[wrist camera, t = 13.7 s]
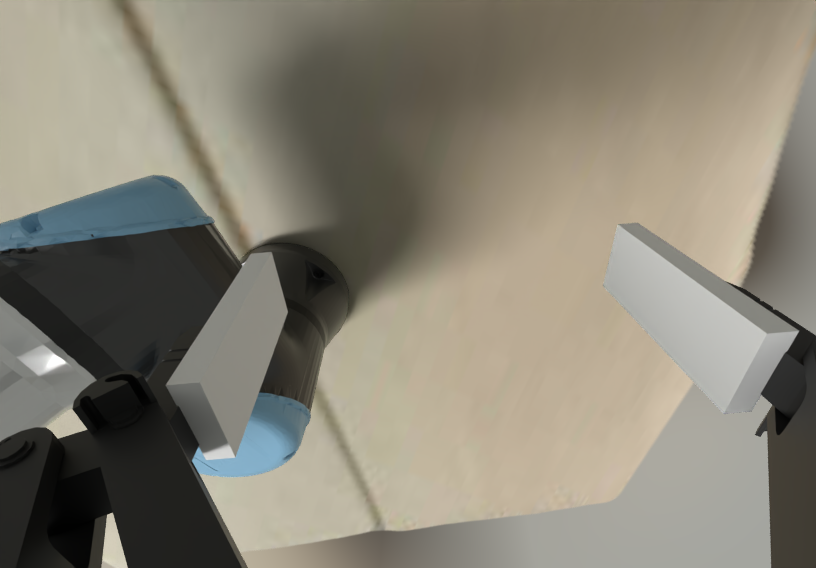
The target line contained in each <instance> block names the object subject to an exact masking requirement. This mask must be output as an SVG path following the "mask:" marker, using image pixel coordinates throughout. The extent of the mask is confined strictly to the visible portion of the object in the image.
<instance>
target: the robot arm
mask: <svg viewBox="0 0 816 568" xmlns="http://www.w3.org/2000/svg"><path fill="white" fill-rule="evenodd" d="M214 222H215V221H214V220H213V218H212V217H210V216H207V214H206V213H205V212H204V211H203V210H202V208H201V207H200V206H199V205H198V203H197V202H196V201H195V199H194V198H193V197H192V195H191V194H190V193H189V192H188V190H187V189H186V188H185V187H184V186H183V185H182V184H181V183H180V182H178V181H177V180H175V179H173V178H170V177H167V176H163V175H152V176H148V177H144V178H141V179H137V180H134V181H131V182H127V183H124V184H121V185H118V186H115V187H111V188H108V189H105V190H102V191H99V192H96V193H93V194H89V195H86V196H83V197H80V198H77V199H74V200H71V201H68V202H65V203H62V204H59V205H56V206H53V207H50V208H47V209H44V210H41V211H39V212H35V213H31V214H29V215H26V216H23V217H20V218H17V219H14V220H10V221H7V222H4V223H1V224H0V568H101V564H102V555H103V546H104V537H105V528H106V518H107V514H110V513H112V512H113V514H114V518H115V522H116V525H117V529H118V533H119V536H120V540H121V544H122V547H123V551H124V555H125V558H126V562H127V566H128V568H248V567H247V565H246V563H245V561H244V560H243V558H242V556H241V554H240V552H239V550H238V548H237V546H236V544H235V542H234V540H233V538H232V536H231V534H230V533H229V531H228V529H227V527H226V525H225V523H224V521H223V519H222V517H221V515H220V513H219V511H218V509H217V507H216V505H215V504H214V502H213V500H212V498H211V496H210V494H209V492H208V490H207V488H206V486H205V484H204V482H203V480H202V478H201V477H200V475H199V473H200V474H204V475H210V476H220V477H245V476H252V475H257V474H261V473H265V472H268V471H271V470H273V469H276V468H278V467H279V466H281V465H283V464H284V463H286V462H287V461H288V460H290V459H291V458H292V457H293V456H294V454H295V453H296V451H297V450H298V448H299V446H300V444H301V441H302V438H303V435H304V431H305V428H306V426H307V424H308V423H309V421H310V418H311V415H310V411H311V407H312V402H313V398H314V393H315V389H316V384H317V380H318V375H319V370H320V366H321V362H322V357H323V353H324V349H325V347H326V346H327V345H328V344H329V343H330V341H331V340H332V339H333V337H334V336H335V335H336V334H337V333H338V332H339V330H340V329H341V327H342V325H343V323H344V321H345V319H346V315H347V310H348V305H349V292H348V287H347V284H346V282H345V279H344V278H343V276H342V274H341V273H340V271H339V270H338V269H337V267H336V266H335V265H334V264H333V263H332V262H331V261H329V260H328V259H327V258H326V257H324V256H323V255H321V254H319V253H318V252H316V251H314V250H312V249H309V248H307V247H304V246H300V245H295V244H289V243H275V244H268V245H264V246H261V247H258V248H256V249H254V250H252V251H250V252H249V253H247V254H246V255H245V256H244V257H243V258H242V259H241V260H240V261H239V260H238V258H237V257H236V255H235V254H234V253H233V251H232V250H231V248H230V247H229V245H228V244H227V242H226V241H225V239H224V238H223V236H222V235H221V234H220V232H219V231H218V229H217V228H216V226H215V225H214ZM603 287H604V288H605V289H606V290H607V291H608V292H609V293H610V294H611V295H612V296H613V297H614V298H615V299H616V300H617V301H618V302H619V303H620V305H621V306H622V307H623V308H624V309H625V310H626V311H627V312H628V313H629V314H630V315H631V316H632V317H633V318H634V319H635V320H636V321H637V323H638V324H639V325H640V326H641V327H642V328H643V329H644V330H645V331H646V332H647V333H648V334H649V335H650V336H651V337H652V338H653V340H654V341H655V342H656V343H657V344H658V345H659V346H660V347H661V348H662V349H663V350H664V351H665V352H666V353H667V354H668V355H669V356H670V358H671V359H672V360H673V361H674V362H675V363H676V364H677V365H678V366H679V367H680V368H681V369H682V370H683V371H684V372H685V373H686V374H687V376H688V377H689V378H690V379H691V380H692V381H693V382H694V383H695V384H696V385H697V386H698V387H699V388H700V389H701V390H702V391H703V392H704V394H705V395H706V396H707V397H708V398H709V399H710V400H711V401H712V402H713V403H714V404H715V405H716V406H717V407H718V408H719V409H720V411H721V412H722V413H723V414H728V413H740V412H750V411H752V410H753V408H754V406H755V405H756V402H757V401H758V400H759V398H760V396H761V395H762V396H763V397H765V398H766V399H767V400H768V401H769V402H770V403H771V404H772V407H771V408H770V410H769V412H768V413H767V415H766V417H765V418H764V420H763V421H762V423H761V424H760V426H759V428H758V429H757V431H756V434H755V435H757V436H761V435H762V433H763V432H764V431H767V434H768V469H769V501H770V534H771V535H770V536H771V568H816V336H815V335H814V334H813V333H811V332H810V331H808V330H806V329H805V328H803V327H802V326H800V325H799V324H797V323H796V322H794V321H793V320H791V319H790V318H788V317H787V316H785V315H784V314H782V313H780V312H779V311H777V310H773V308H772V307H771V306H770V305H768V304H767V303H765V302H764V301H760V299H759V298H757V297H756V296H754V295H753V294H751V293H750V292H748V291H747V290H745V289H743V288H741V287H738V286H736V285H733V284H731V283H728V282H726V281H724V280H722V279H721V278H719V277H718V276H716V275H715V274H713V273H712V272H710V271H709V270H707V269H706V268H704V267H703V266H701V265H700V264H698V263H697V262H695V261H694V260H692V259H691V258H689V257H688V256H686V255H685V254H683V253H682V252H680V251H679V250H677V249H676V248H674V247H673V246H672V245H670V244H669V243H667V242H666V241H664V240H663V239H661V238H660V237H658V236H657V235H655V234H654V233H652V232H651V231H649V230H648V229H646V228H645V227H643V226H642V225H640V224H639V223H628V224H618V225H617V229H616V233H615V238H614V242H613V246H612V250H611V254H610V259H609V263H608V267H607V271H606V275H605V279H604V284H603ZM69 409H73V410H74V412H75V413H76V414H77V416H78V417H79V418H80V420H81V421H82V422H83V424H84V425H85V426H86V428H87V429H88V430H85V431H82V432H79V433H75V434H72V435H69V436H66V437H63V438H60V439H57V437H56V436H55V435H54V434H53V433H52V431H50V430H49V429H47V428H46V427H47V426H48V425H49V424H51V423H52V422H53V421H55V420H56V419H57V418H59V417H60V416H61V415H62V414H64V413H65V412H66V411H68V410H69Z"/></svg>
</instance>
